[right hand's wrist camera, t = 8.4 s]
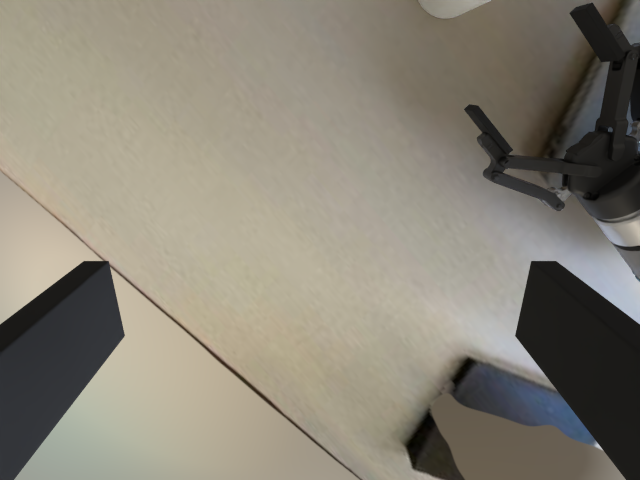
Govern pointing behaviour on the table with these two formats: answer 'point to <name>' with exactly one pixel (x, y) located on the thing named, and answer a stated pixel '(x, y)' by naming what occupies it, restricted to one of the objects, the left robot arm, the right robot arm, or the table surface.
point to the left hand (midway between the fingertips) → (523, 59)
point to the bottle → (449, 7)
